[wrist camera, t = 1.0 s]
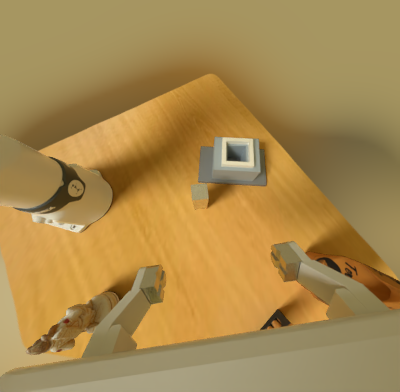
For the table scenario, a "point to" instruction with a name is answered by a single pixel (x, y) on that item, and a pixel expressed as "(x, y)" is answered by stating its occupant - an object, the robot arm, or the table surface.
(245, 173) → the block
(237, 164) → the frame
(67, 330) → the figurine
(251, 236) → the table surface
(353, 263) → the coffee package
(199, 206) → the shaft
